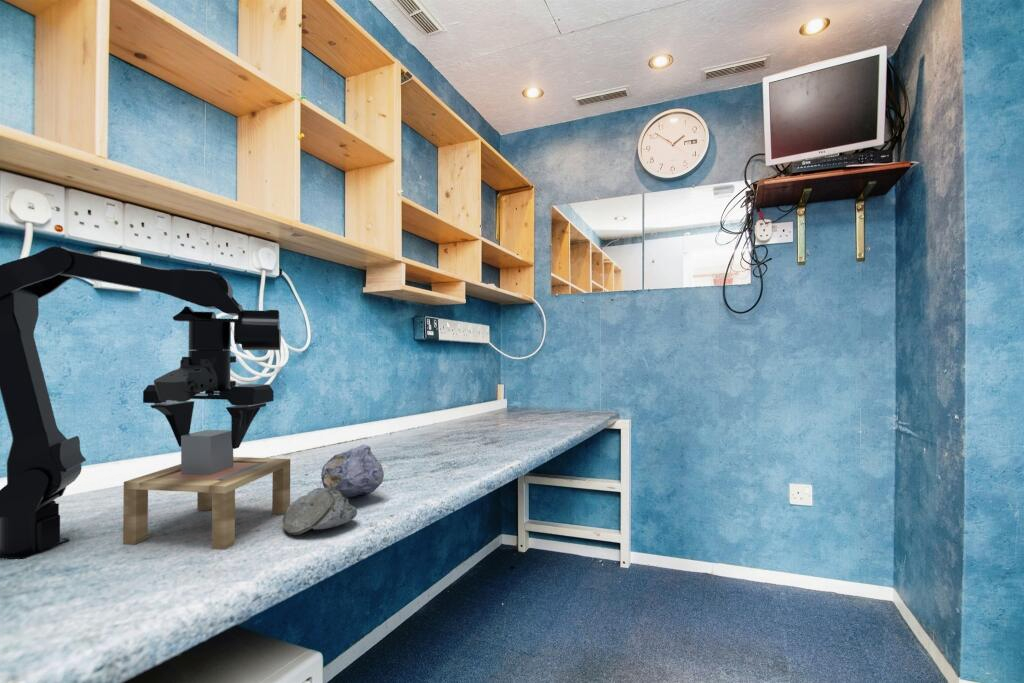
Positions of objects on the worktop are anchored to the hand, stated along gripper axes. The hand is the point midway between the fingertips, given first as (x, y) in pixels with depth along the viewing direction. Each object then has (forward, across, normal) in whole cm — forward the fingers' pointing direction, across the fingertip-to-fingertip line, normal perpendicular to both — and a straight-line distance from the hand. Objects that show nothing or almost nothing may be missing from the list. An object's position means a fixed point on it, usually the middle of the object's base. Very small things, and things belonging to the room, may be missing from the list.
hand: (209, 447), depth 76 cm
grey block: (+4, 0, 0) cm, 4 cm away
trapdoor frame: (+12, +1, 0) cm, 13 cm away
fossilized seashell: (+14, +14, +3) cm, 21 cm away
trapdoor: (+4, +6, 0) cm, 7 cm away
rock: (+13, +17, +14) cm, 25 cm away
